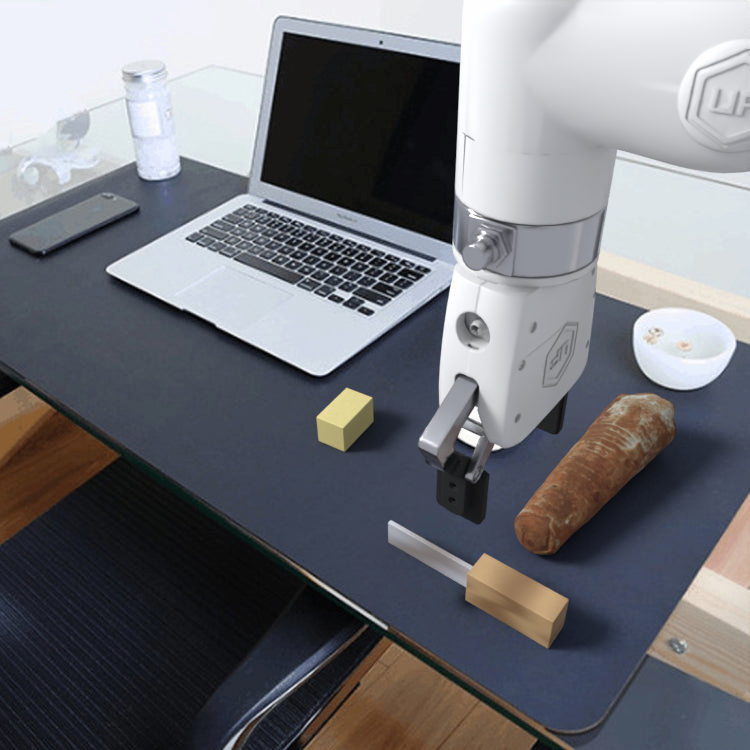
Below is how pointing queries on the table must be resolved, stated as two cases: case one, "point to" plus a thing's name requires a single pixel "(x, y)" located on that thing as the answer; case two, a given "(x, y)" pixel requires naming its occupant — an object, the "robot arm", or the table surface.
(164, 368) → the table surface
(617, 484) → the bread
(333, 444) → the butter
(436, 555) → the knife
